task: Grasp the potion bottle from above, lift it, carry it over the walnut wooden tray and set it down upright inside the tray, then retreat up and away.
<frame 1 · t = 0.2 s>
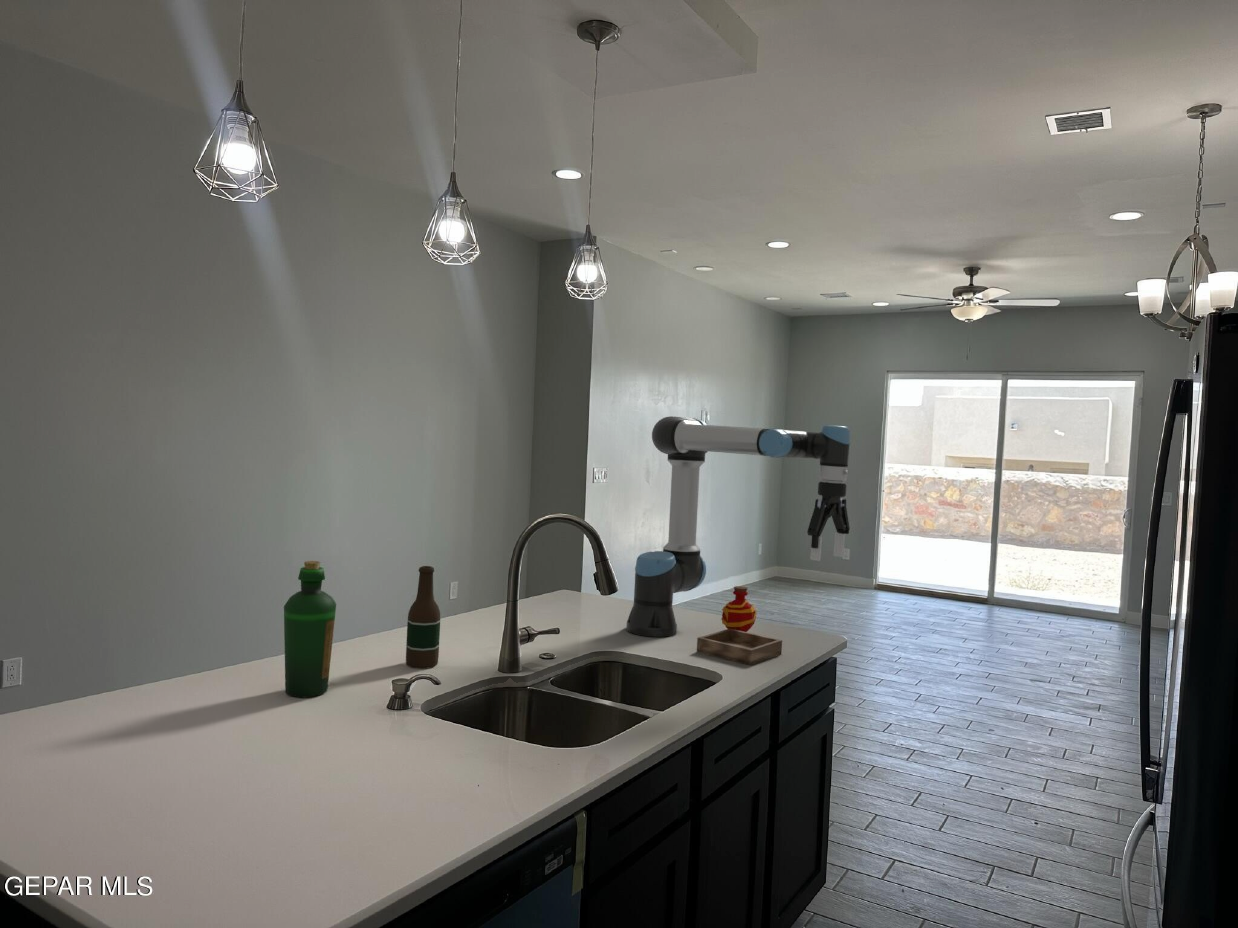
hand: (827, 558, 237), 28 cm above the countertop, tool pointing down, fingers open, 13 cm apart
bottle: (306, 692, 184), on the countertop
potion bottle: (737, 637, 256), on the countertop
walnut tray: (739, 653, 238), on the countertop
beer bottle: (421, 665, 209), on the countertop
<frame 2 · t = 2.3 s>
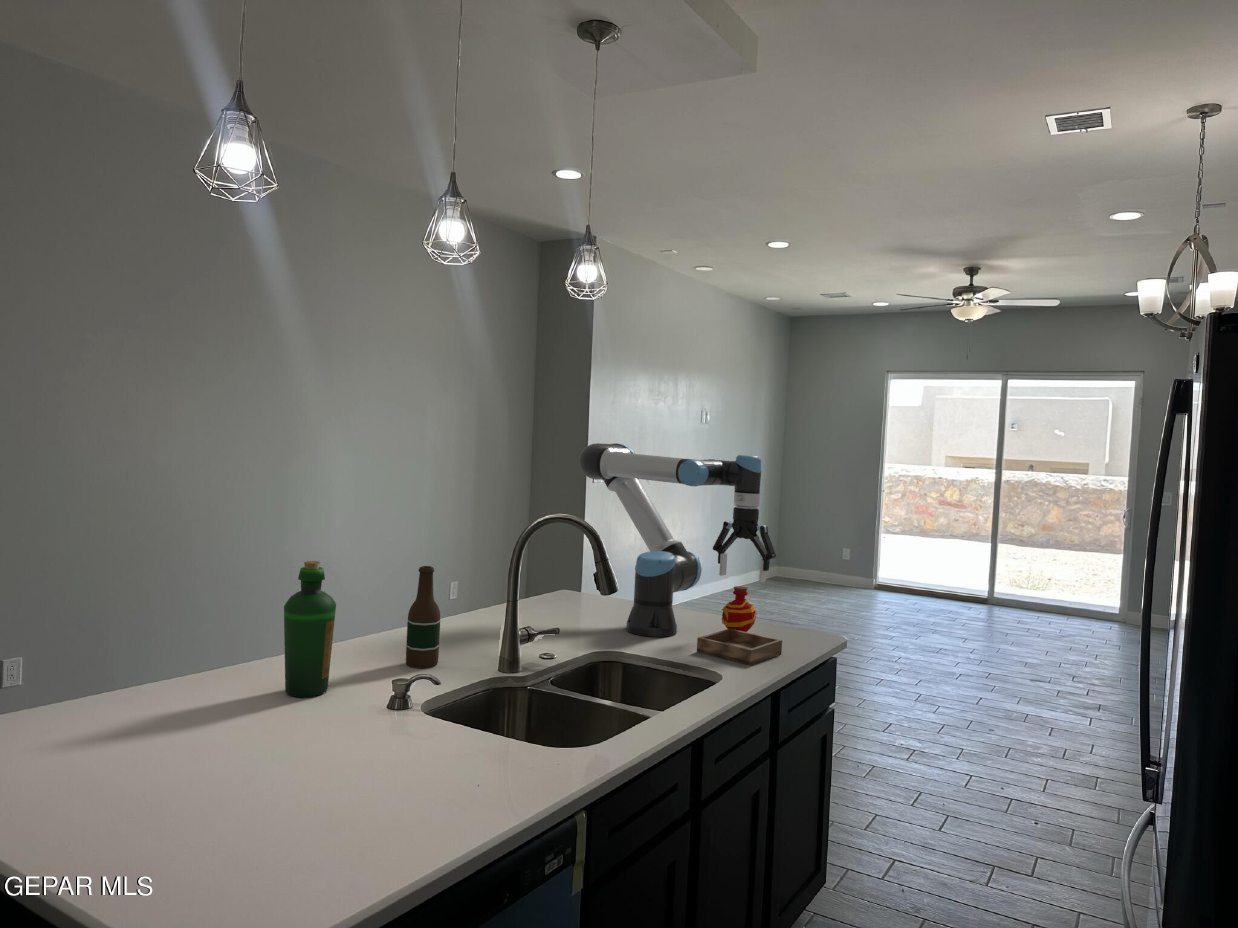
hand: (742, 578, 255), 18 cm above the countertop, tool pointing down, fingers open, 13 cm apart
nothing on the countertop moved.
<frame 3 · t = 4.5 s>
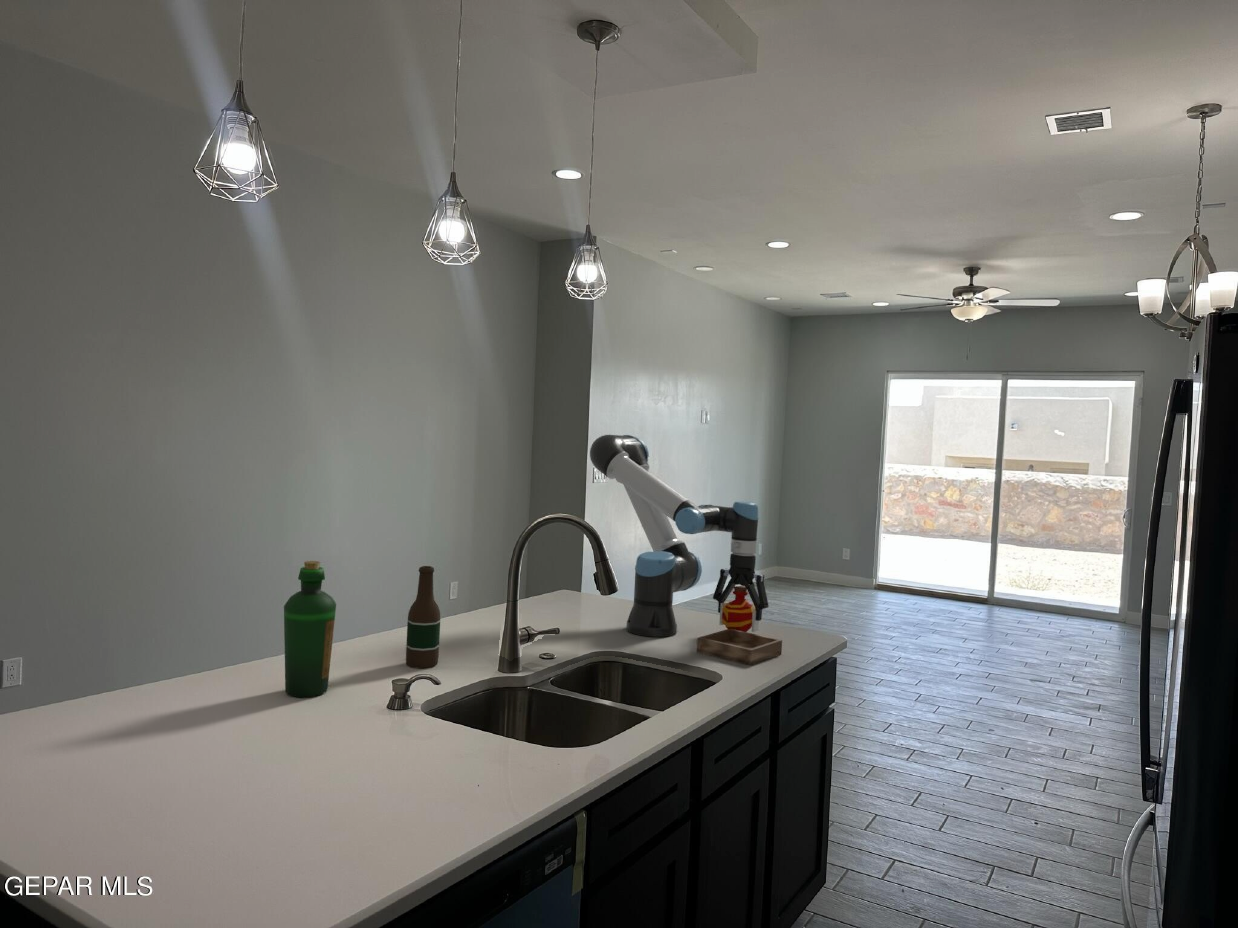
hand: (738, 627, 256), 3 cm above the countertop, tool pointing down, fingers closed on potion bottle, 10 cm apart
potion bottle: (737, 637, 256), on the countertop, touching gripper
everything else where it was.
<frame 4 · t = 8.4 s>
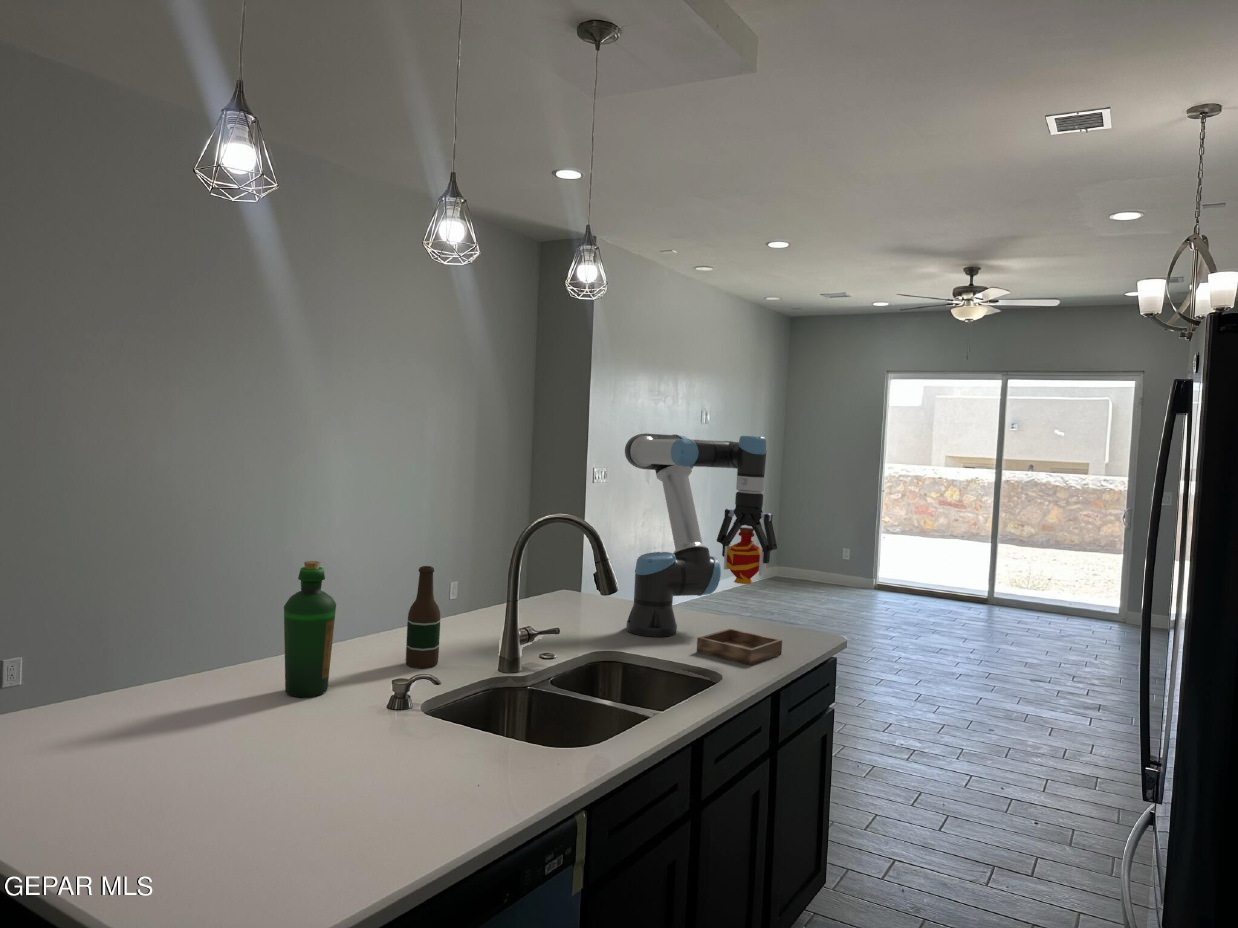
hand: (744, 571, 237), 23 cm above the countertop, tool pointing down, fingers closed on potion bottle, 10 cm apart
potion bottle: (743, 582, 237), point 20 cm above the countertop, touching gripper
everything else where it was.
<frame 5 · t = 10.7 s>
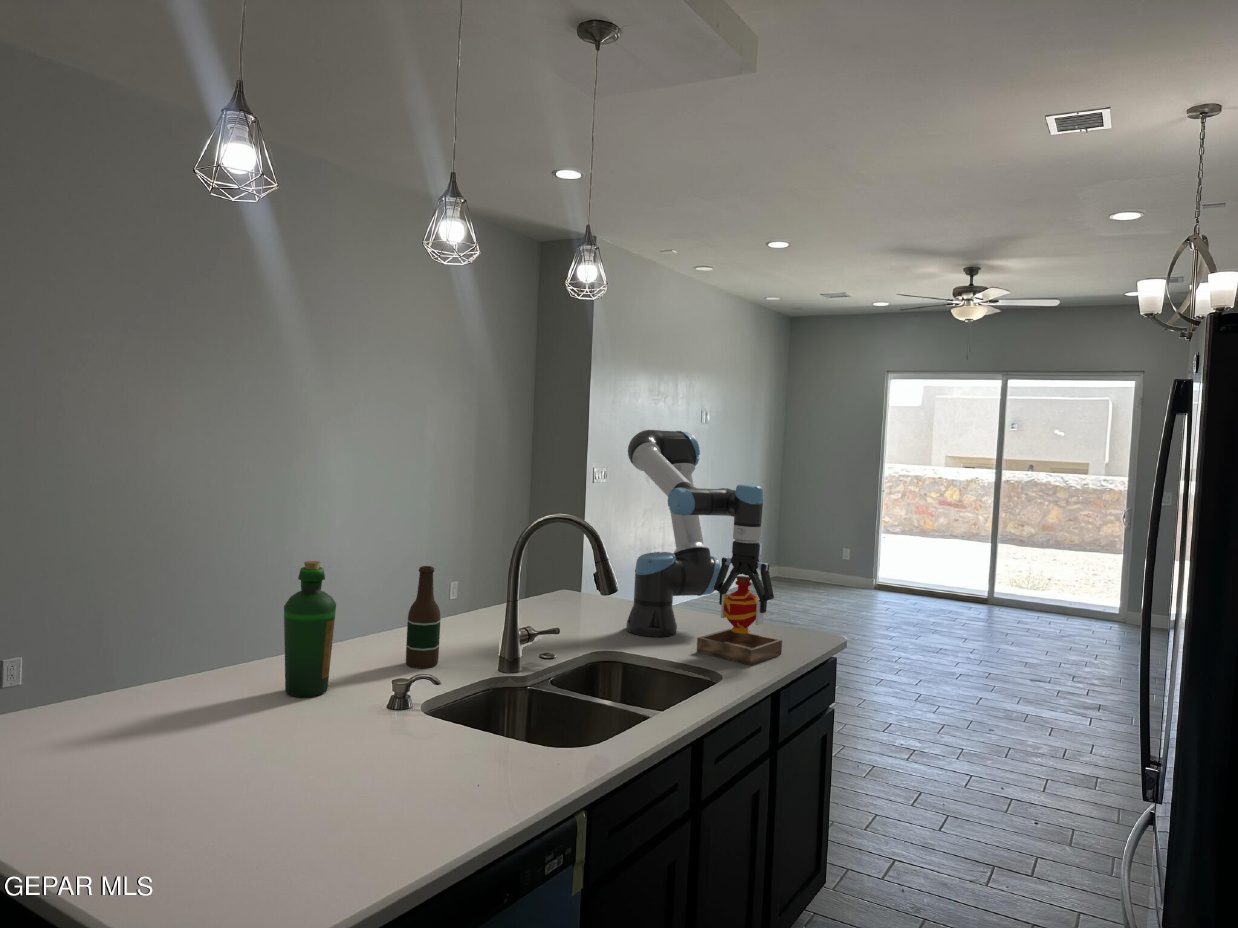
hand: (741, 620, 237), 9 cm above the countertop, tool pointing down, fingers closed on potion bottle, 10 cm apart
potion bottle: (740, 631, 237), point 6 cm above the countertop, touching gripper
everything else where it was.
when the fingers open (6 cm above the countertop, at t = 12.5 s): potion bottle drops 2 cm, resting on walnut tray.
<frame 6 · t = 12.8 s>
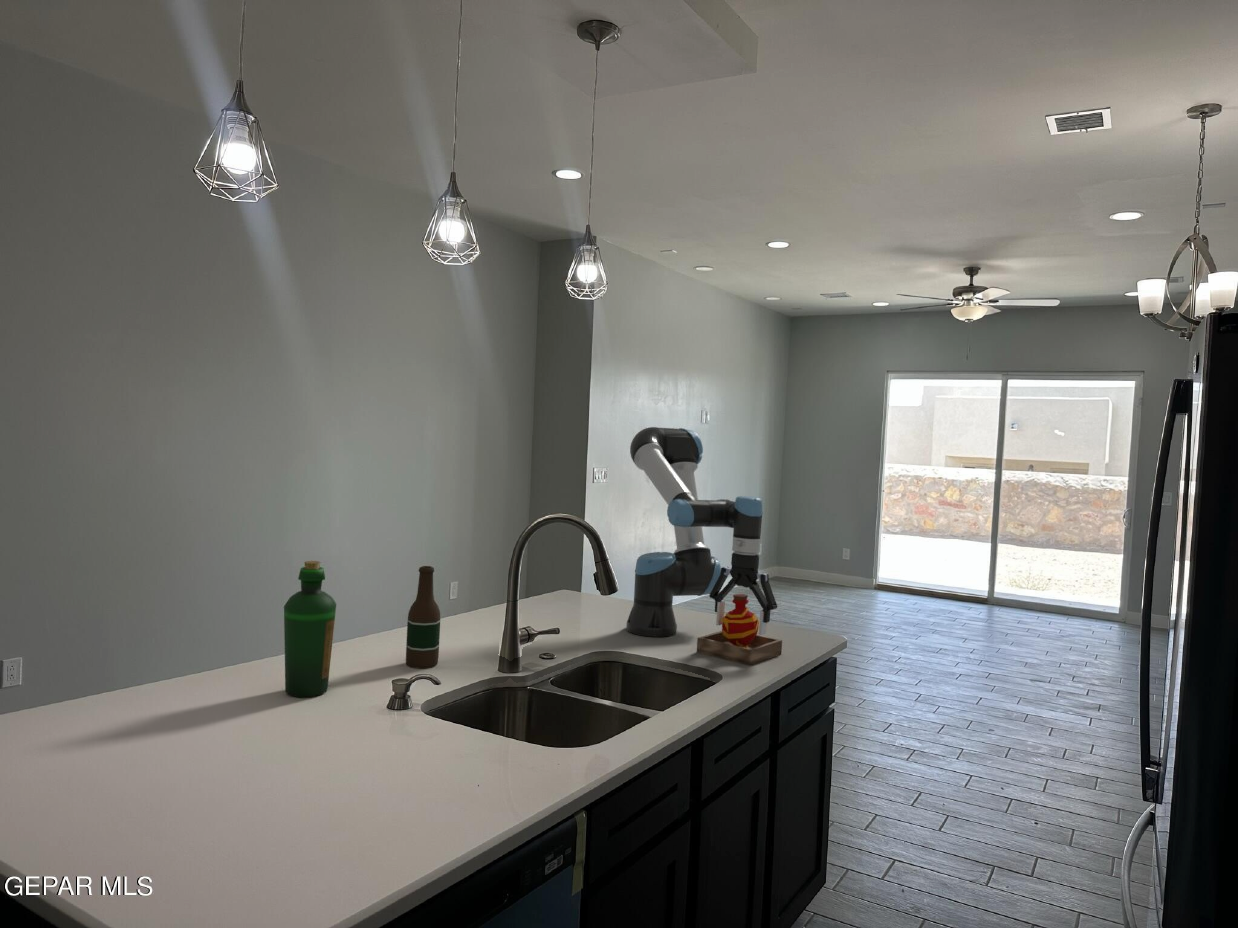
hand: (740, 629, 237), 7 cm above the countertop, tool pointing down, fingers open, 13 cm apart
potion bottle: (740, 649, 237), point 1 cm above the countertop, touching walnut tray
everything else where it was.
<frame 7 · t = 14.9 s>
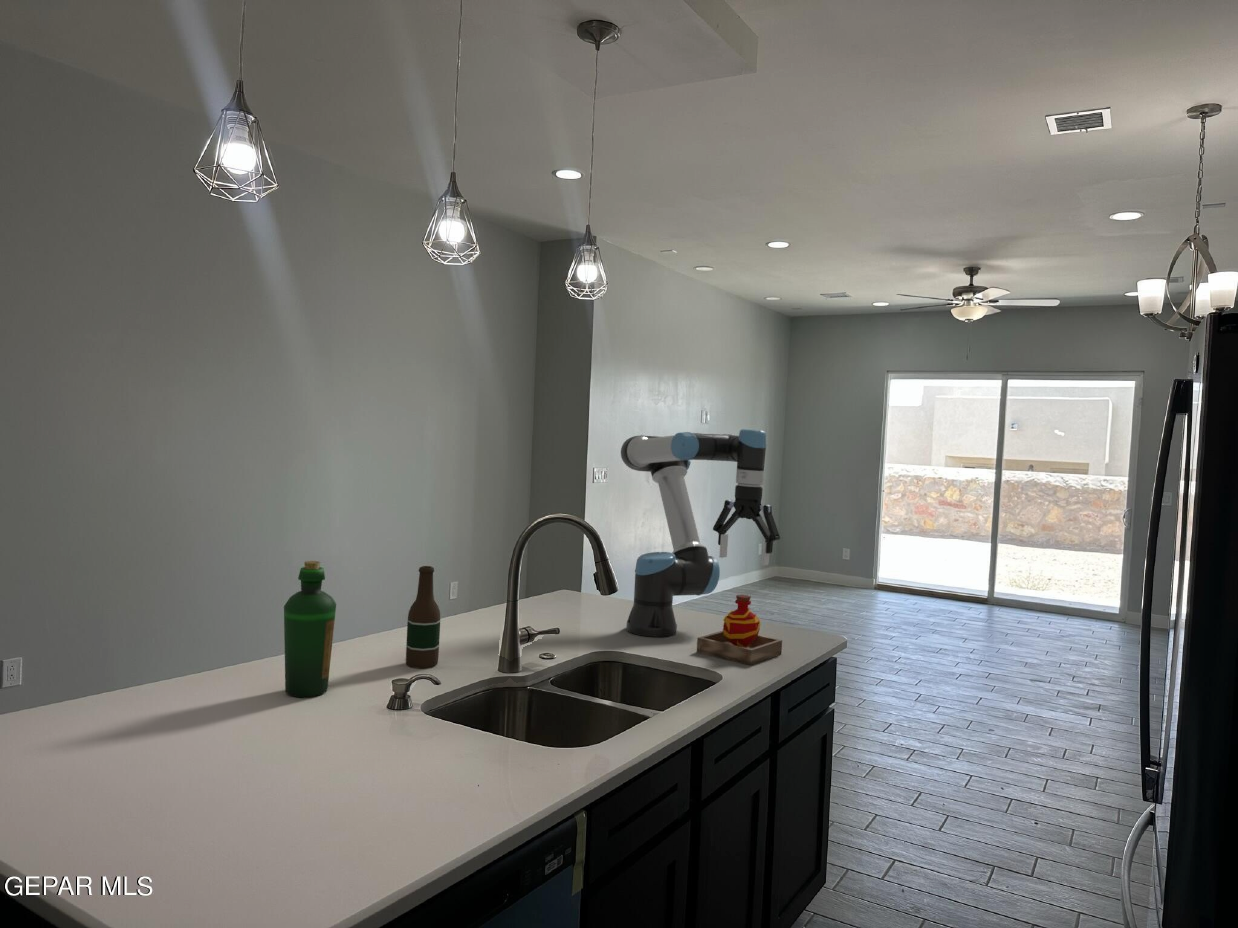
hand: (743, 561, 239), 25 cm above the countertop, tool pointing down, fingers open, 13 cm apart
nothing on the countertop moved.
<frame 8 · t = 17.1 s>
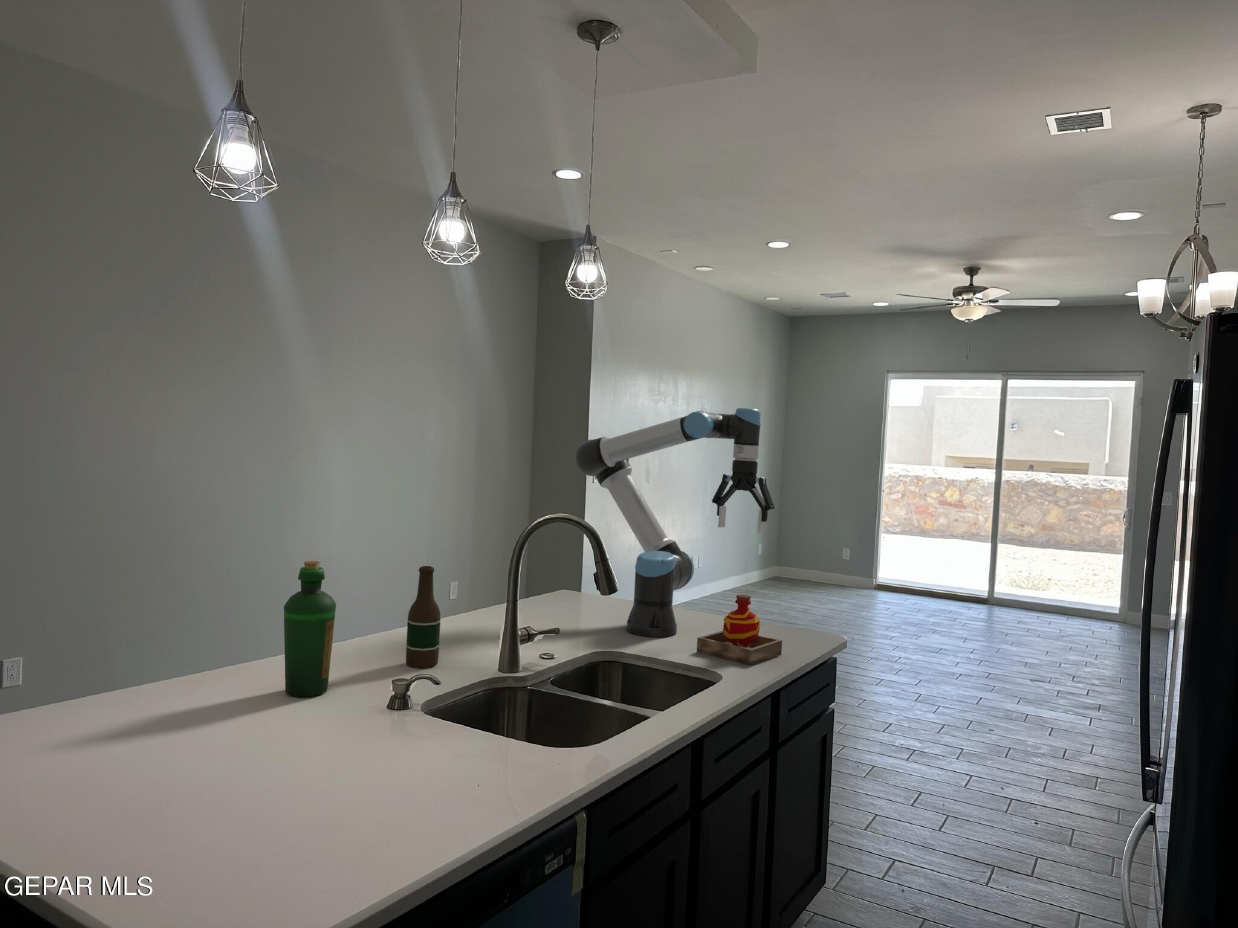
hand: (740, 529, 259), 32 cm above the countertop, tool pointing down, fingers open, 13 cm apart
nothing on the countertop moved.
at the end: potion bottle inside the target area on the walnut tray (0.2 cm from its centre), point 0.8 cm above the walnut tray's base; potion bottle tilted 0°; the gripper is holding nothing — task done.
